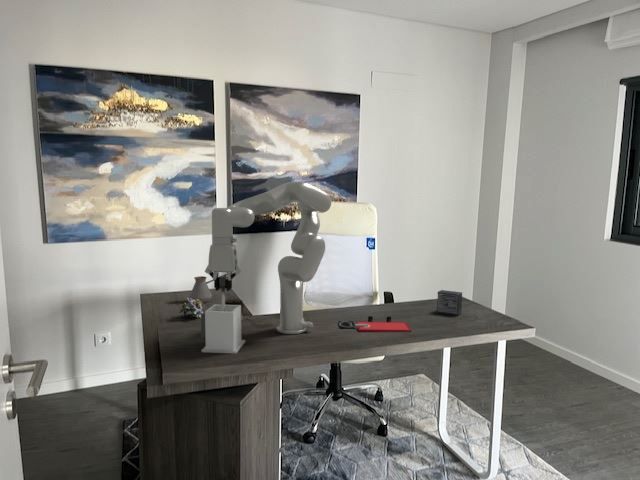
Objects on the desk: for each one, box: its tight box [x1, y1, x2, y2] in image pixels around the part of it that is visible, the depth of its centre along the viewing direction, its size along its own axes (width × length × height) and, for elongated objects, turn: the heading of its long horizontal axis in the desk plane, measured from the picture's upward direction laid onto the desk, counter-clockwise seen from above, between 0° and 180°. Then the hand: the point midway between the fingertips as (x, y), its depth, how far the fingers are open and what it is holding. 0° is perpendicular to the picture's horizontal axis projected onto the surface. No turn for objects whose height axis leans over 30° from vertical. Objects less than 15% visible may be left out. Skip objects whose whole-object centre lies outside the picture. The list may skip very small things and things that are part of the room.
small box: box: [436, 289, 463, 316], centre depth 229 cm, size 11×6×10 cm, turn 58°
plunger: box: [218, 275, 228, 312], centre depth 176 cm, size 8×8×20 cm
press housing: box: [200, 304, 246, 355], centre depth 177 cm, size 15×13×15 cm
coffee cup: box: [225, 298, 245, 324], centre depth 197 cm, size 9×8×13 cm
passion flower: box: [178, 296, 204, 319], centre depth 217 cm, size 11×11×12 cm
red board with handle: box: [338, 315, 413, 333], centre depth 206 cm, size 30×3×15 cm
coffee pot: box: [189, 273, 227, 304], centre depth 248 cm, size 21×12×15 cm, turn 97°
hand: (223, 289), depth 176 cm, fingers closed on plunger, 3 cm apart
